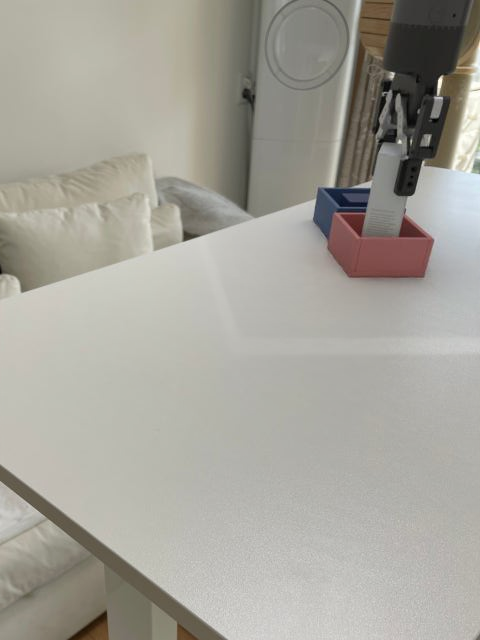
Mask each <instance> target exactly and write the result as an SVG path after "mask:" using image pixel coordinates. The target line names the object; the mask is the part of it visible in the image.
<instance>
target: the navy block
mask: <svg viewBox="0 0 480 640" xmlns="http://www.w3.org/2000/svg"><path fill="white" fill-rule="evenodd" d="M369 195H370V194H353V193H342V194H341V199H340V205H339V206H340V207H367V205H368V200H369Z"/></svg>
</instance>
